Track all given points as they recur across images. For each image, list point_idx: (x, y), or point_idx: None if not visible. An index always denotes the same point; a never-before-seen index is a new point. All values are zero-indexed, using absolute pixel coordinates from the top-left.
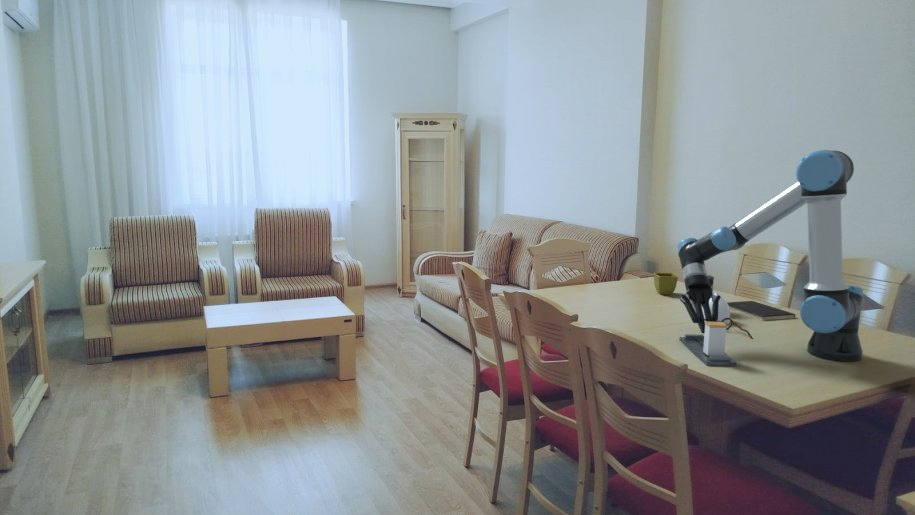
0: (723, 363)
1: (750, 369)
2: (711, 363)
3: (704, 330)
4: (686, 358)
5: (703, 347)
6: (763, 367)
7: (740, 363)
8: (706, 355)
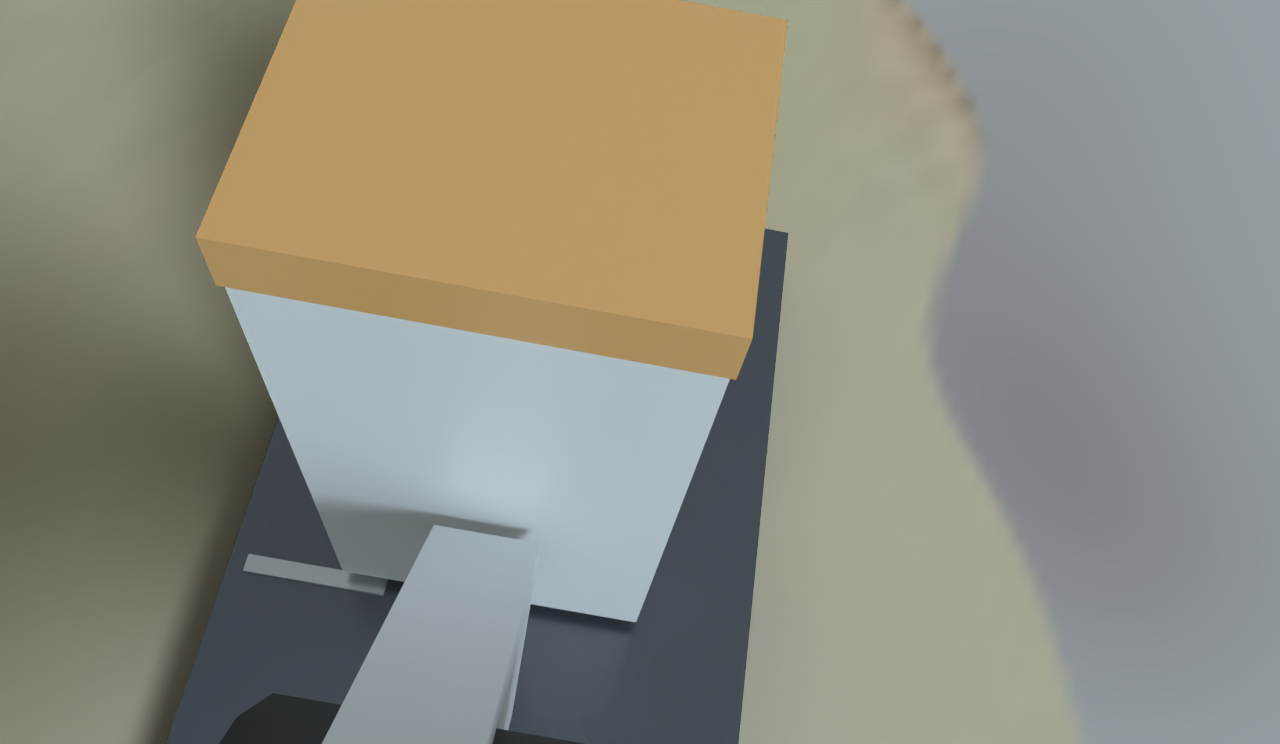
0: None
1: None
2: None
3: (548, 741)
4: (941, 578)
5: (645, 596)
6: (37, 109)
7: None
8: None
